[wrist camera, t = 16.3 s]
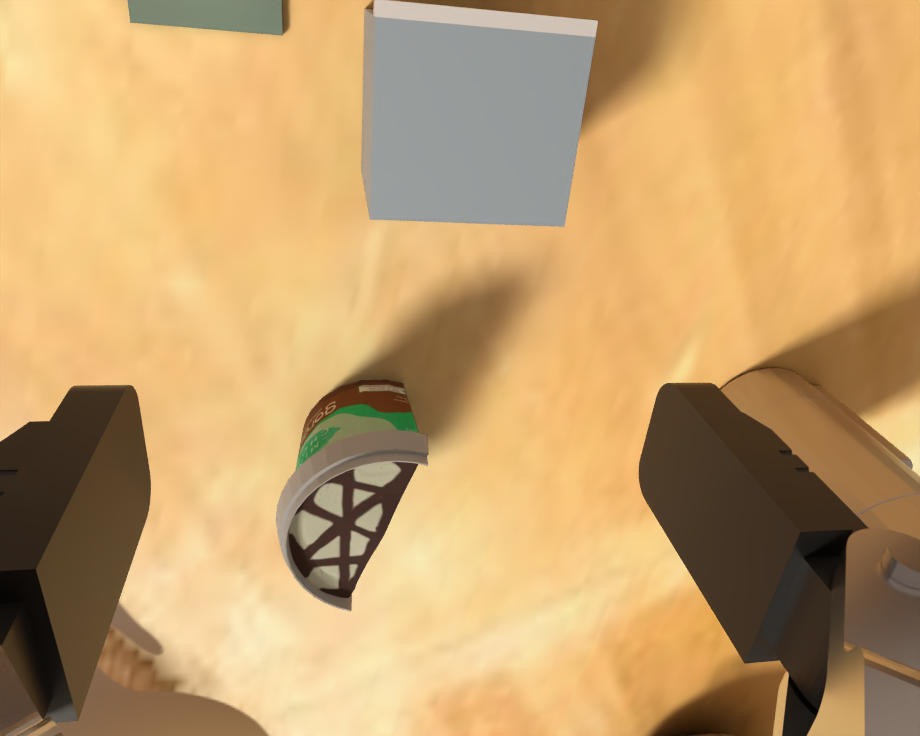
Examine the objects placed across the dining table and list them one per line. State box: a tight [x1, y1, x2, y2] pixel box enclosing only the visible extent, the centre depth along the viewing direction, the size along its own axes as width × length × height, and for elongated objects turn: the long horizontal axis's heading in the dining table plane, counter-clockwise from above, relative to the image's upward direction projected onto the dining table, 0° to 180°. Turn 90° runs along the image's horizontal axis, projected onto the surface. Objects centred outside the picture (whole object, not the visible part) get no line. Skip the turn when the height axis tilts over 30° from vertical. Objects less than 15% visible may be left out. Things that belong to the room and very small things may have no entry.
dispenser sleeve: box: [361, 0, 598, 227], centre depth 33 cm, size 9×9×9 cm
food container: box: [276, 380, 428, 611], centre depth 42 cm, size 12×6×10 cm, turn 155°
